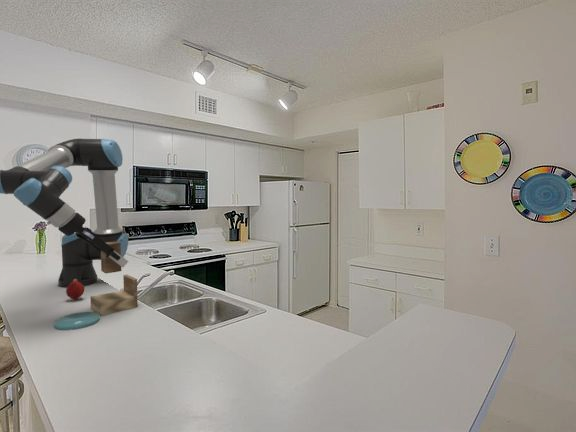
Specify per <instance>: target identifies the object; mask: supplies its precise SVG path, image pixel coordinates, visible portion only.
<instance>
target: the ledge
mask: <svg viewBox="0 0 576 432" xmlns="http://www.w3.org/2000/svg"><path fill="white" fill-rule="evenodd" d="M122 277H123V290H120V291H113V292H108V293H103V294H102V293H101V294H98V295H96V294H95V295H91V296H90V309H92V310H93V312H96V313H98V314H99V315H100V316H104V315H108V314H113V313H118V312H121V311H125V310H130V309H135V308H137V307H138V305H139V304H138V279H137V278H135V277H134V276H131V275H129V274H123V276H122Z"/></svg>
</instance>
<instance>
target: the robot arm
mask: <svg viewBox="0 0 576 432" xmlns="http://www.w3.org/2000/svg"><path fill="white" fill-rule="evenodd" d="M123 159H124V158H123V153H122V150H121V147H120V146H119V144H118V142H117V141H115V140H114V139H107V138H73V139H68V140H65V141H62V142H60V143H59V142H58V143H56V144H54V145H52V146H50V147H49V149H48V150H47V151H46V152H44V153H42V154H39V155H36V157H34V158H31V159H29V160H26V161H25V162H22V163H20V164H19V165H16V166H14V167H12V168H9V169H5V170H4V169H0V194H4V195H13V196H14V197H15V198H16V199H17V200H18V201H19V202H20V203H22V205H24V206H26V207H27V208H28V209H30V210H31V211H32V212H34V213H35V214H37V215H38V216H39V217H41V218H42V219H44V220H45V221H47V222H46V224H47V225H48V226H49V225H52V226H53V227H54V228H57V229H58V231H60V233H62V234H64V235H63V236H62V238H61V260H62V265H61V266H62V269H61V272H60V275H59V277H58V279H57V280H58V281H57V282H58V283H57V284H58V285H57V286H58V287H61V288H67V287H68V285H69V284H70V283H72V282H73V280H74V279H77V281H78V282H80V283H81V284H82V285H83V286H84V287H85V286H89V285H93V284H95V283H97V282H98V274H97V271H96V270H95V268H94V263H93V261H97V260H98V261H101V251H103V252H104V253H105V254H107V256H106V257H107V258H108V257H109V258H111V259H112V260H113V261H115V262H116V263H117V264H119V265H120V266H121V268H125V266H126V265H127V264H128V263H129V261H128V260H127V259H126V258H125V256H126V254H127V251H128V248H129V237H128V235H127V234H126V233H123V228H121V227H120V226H119V215H118V214H119V213H118V201H117V188H116V174H117V172H118V171H119V168H120V167H122V165H123ZM75 166H81V167H87V171H88V172H89V173H91V175H92V184H93V194H94V207H95V218H96V228H95V230H94V231H92V230H93V229H90V228H89V227H86V226H85V227H84V224H85V223H86V218H85V217H84V216H83V215H82V214H80V213H78V212H76V210H75V209H74V208H73V207H72V206H71V205H69V204H68V203H66V202H65V201H64V200H63V199H61V198H60V196H61V195H62V194H63V193H65V191H66V190H68V189H69V187H70V184H71V183H72V181H73V175H72V173H71V171H70V170H68V169H67V168H69V167H75ZM105 242H119V243H121V255H120V254H118V253H117V252H116V251H115V249H114V248H112V247H110V246H109V245H108V244H107V243H105Z"/></svg>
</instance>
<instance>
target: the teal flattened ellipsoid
mask: <svg viewBox="0 0 576 432" xmlns="http://www.w3.org/2000/svg"><path fill="white" fill-rule="evenodd" d="M100 320H101V315H99V314H98V313H97V312H96V311H82V312H75V313H71V314H67V315H64V316H61V317H59V318H57V319H56V320H55V319H54V321H53V324H54V326H53V327H54V329H56V330H61V331H69V330H70V329H72V330H79V329H82V328H86V327H89V326H92V325H96V324H97V323H98V322H99V321H100Z"/></svg>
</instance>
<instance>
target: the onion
mask: <svg viewBox="0 0 576 432" xmlns="http://www.w3.org/2000/svg"><path fill="white" fill-rule="evenodd" d="M65 293H66V296H67V297H68V298H69V299H71V300H74V301H77V300H78V299H80V297H82V296H83V295H84V293H85V285H84V286H83V285H82V284H81V283H80V282H78V281H77V279H74V280H73V282H72V283H70V284H69V285H68V287H66V289H65Z"/></svg>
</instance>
